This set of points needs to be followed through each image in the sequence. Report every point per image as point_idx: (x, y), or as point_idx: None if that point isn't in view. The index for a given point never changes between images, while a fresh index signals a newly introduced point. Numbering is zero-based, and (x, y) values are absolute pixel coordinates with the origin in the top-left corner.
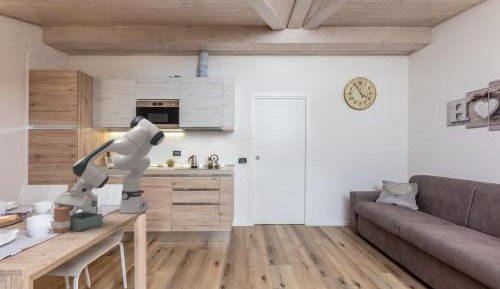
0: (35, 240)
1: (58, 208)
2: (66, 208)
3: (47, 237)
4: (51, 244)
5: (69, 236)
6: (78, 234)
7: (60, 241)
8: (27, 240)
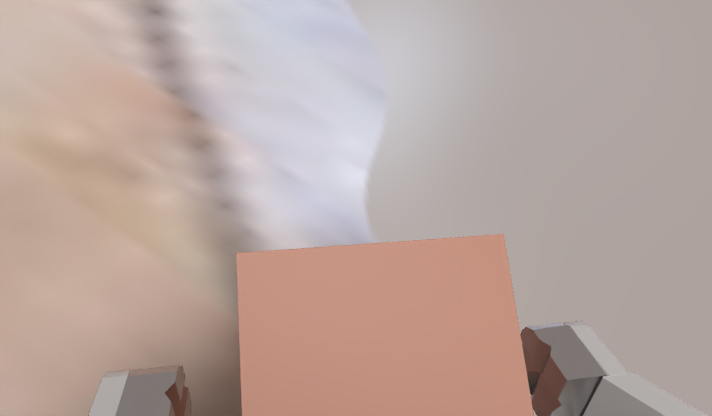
0: (266, 44)
1: (423, 281)
2: (247, 408)
3: (258, 142)
4: (15, 24)
5: (77, 267)
6: (43, 373)
7: (13, 113)
8: (325, 19)
